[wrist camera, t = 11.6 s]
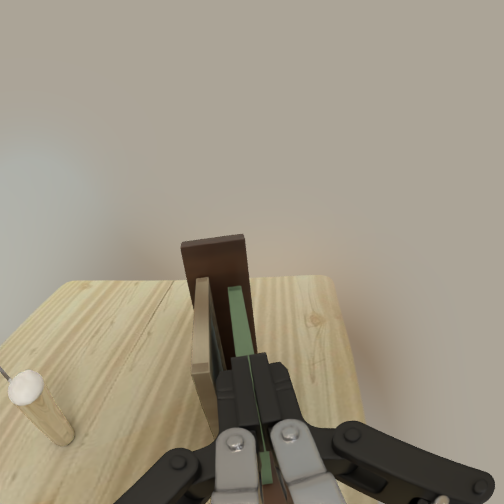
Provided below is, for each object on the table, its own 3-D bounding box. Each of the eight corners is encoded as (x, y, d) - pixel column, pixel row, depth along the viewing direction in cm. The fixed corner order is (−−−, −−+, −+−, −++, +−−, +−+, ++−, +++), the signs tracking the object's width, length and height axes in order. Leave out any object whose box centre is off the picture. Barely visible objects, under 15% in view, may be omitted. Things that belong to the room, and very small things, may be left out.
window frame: (307, 590, 9) (354, 604, 2) (237, 599, 9) (141, 617, 2) (260, 381, 31) (243, 233, 24) (215, 387, 31) (181, 241, 24)
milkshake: (52, 415, 25) (9, 353, 21) (85, 425, 25) (41, 361, 21) (37, 442, 21) (-13, 381, 17) (70, 456, 21) (17, 394, 17)
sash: (272, 483, 18) (261, 388, 13) (260, 485, 18) (240, 392, 13) (255, 396, 27) (240, 285, 22) (245, 397, 27) (227, 287, 22)
